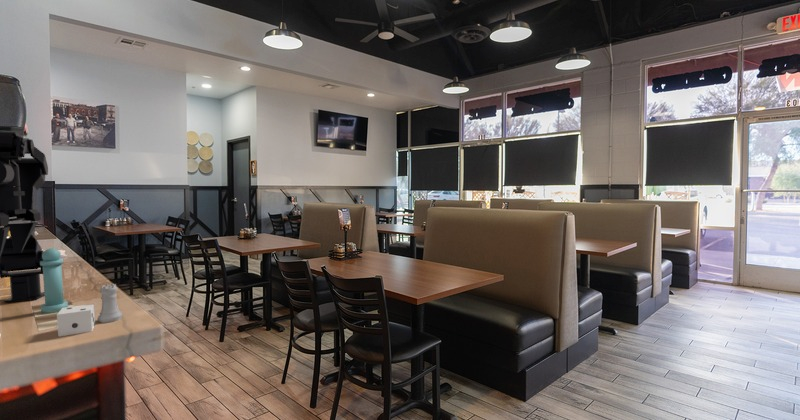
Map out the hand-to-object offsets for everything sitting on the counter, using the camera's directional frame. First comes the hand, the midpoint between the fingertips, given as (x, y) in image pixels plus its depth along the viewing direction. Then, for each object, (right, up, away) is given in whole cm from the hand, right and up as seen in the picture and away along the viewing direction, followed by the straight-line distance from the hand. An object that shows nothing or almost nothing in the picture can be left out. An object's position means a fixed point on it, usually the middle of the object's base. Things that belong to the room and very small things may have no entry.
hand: (7, 255), depth 94 cm
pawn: (+12, -12, -1) cm, 17 cm away
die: (+27, -14, -14) cm, 33 cm away
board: (+14, -13, -3) cm, 19 cm away
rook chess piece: (+29, -13, -8) cm, 33 cm away
